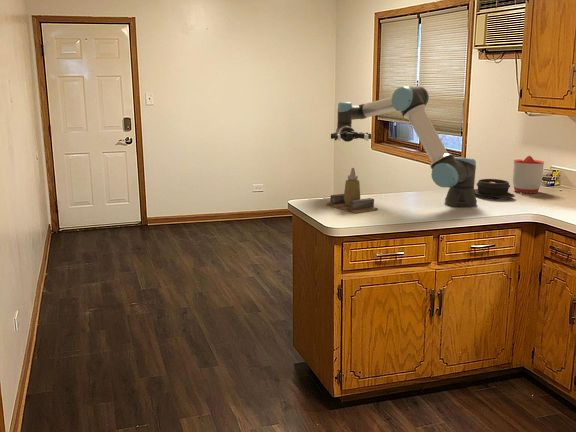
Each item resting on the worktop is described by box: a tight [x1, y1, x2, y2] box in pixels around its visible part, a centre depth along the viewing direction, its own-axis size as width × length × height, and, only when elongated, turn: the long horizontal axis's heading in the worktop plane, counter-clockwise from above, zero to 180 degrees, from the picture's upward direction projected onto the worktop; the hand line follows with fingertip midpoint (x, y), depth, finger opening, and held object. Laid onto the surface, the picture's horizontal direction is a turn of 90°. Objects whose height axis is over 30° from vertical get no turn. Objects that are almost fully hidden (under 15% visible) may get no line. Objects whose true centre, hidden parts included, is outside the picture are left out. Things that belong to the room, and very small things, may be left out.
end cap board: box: [325, 193, 379, 214], centre depth 300 cm, size 22×14×5 cm, turn 33°
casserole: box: [474, 178, 516, 200], centre depth 329 cm, size 25×19×8 cm
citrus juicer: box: [512, 155, 545, 194], centre depth 343 cm, size 16×17×20 cm
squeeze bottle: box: [343, 167, 361, 206], centre depth 298 cm, size 8×8×18 cm
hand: (353, 137), depth 305 cm, fingers open, 13 cm apart
